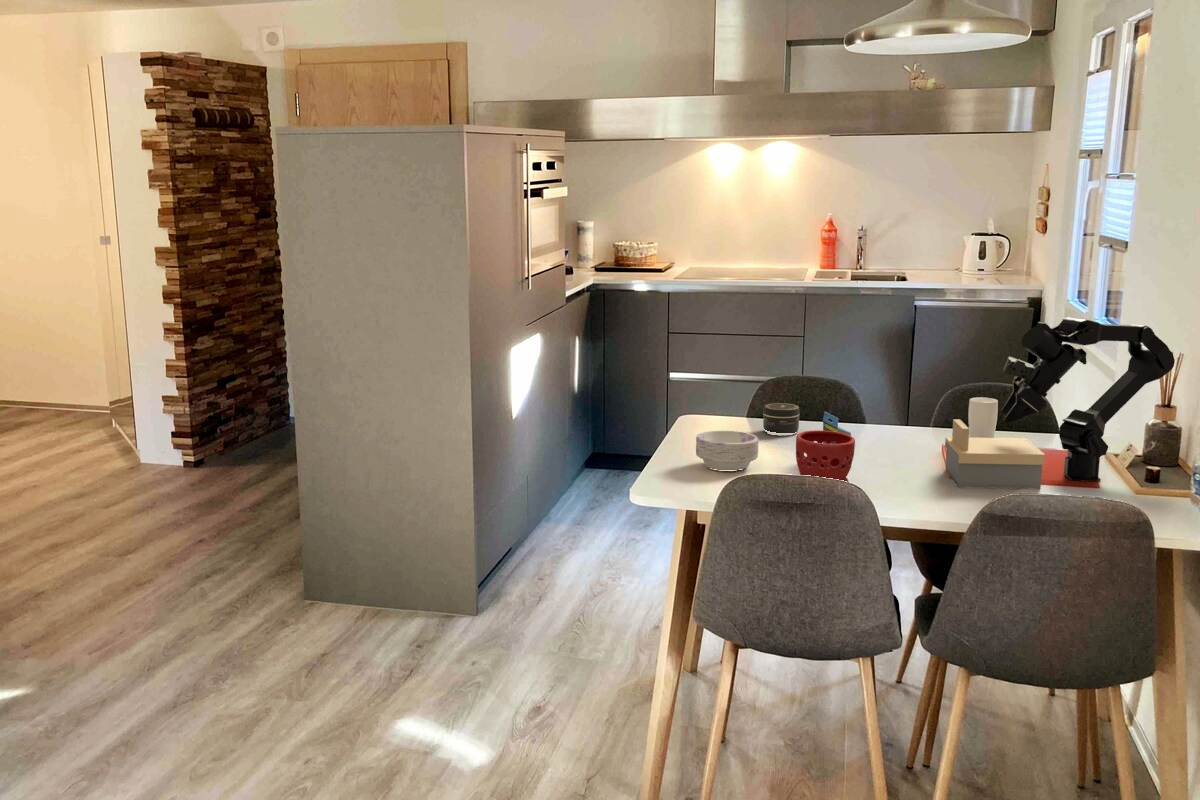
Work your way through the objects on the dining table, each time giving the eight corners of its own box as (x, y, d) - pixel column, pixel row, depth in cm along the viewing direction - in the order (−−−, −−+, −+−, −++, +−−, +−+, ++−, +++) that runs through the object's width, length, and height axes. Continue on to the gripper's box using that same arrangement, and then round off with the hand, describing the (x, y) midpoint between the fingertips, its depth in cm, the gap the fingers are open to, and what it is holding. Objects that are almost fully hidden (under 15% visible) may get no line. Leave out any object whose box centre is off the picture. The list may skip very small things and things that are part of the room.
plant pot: (794, 494, 236) (796, 441, 233) (794, 478, 248) (796, 428, 246) (854, 496, 233) (856, 443, 231) (851, 480, 246) (853, 430, 244)
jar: (794, 428, 300) (794, 402, 299) (803, 436, 291) (803, 409, 289) (759, 429, 300) (759, 403, 298) (767, 437, 290) (767, 410, 289)
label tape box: (851, 466, 259) (853, 417, 256) (836, 467, 258) (837, 418, 256) (836, 457, 267) (837, 410, 265) (821, 458, 266) (822, 410, 264)
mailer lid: (1024, 447, 250) (1026, 417, 249) (1044, 464, 235) (1046, 432, 234) (945, 446, 253) (946, 416, 251) (959, 463, 237) (960, 431, 236)
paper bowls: (770, 467, 259) (771, 435, 257) (730, 479, 248) (731, 446, 247) (723, 456, 270) (723, 426, 268) (683, 467, 259) (683, 436, 258)
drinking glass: (993, 456, 267) (997, 397, 264) (995, 462, 260) (999, 403, 257) (965, 454, 268) (968, 396, 265) (966, 461, 262) (970, 401, 259)
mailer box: (1023, 472, 251) (1025, 443, 249) (1040, 488, 237) (1042, 458, 236) (945, 471, 253) (946, 442, 252) (957, 487, 239) (959, 457, 238)
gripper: (1021, 337, 248) (975, 386, 253) (1027, 352, 230) (976, 404, 236) (1060, 367, 246) (1012, 416, 252) (1068, 385, 229) (1016, 436, 235)
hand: (1003, 417), depth 244 cm, fingers open, 9 cm apart
